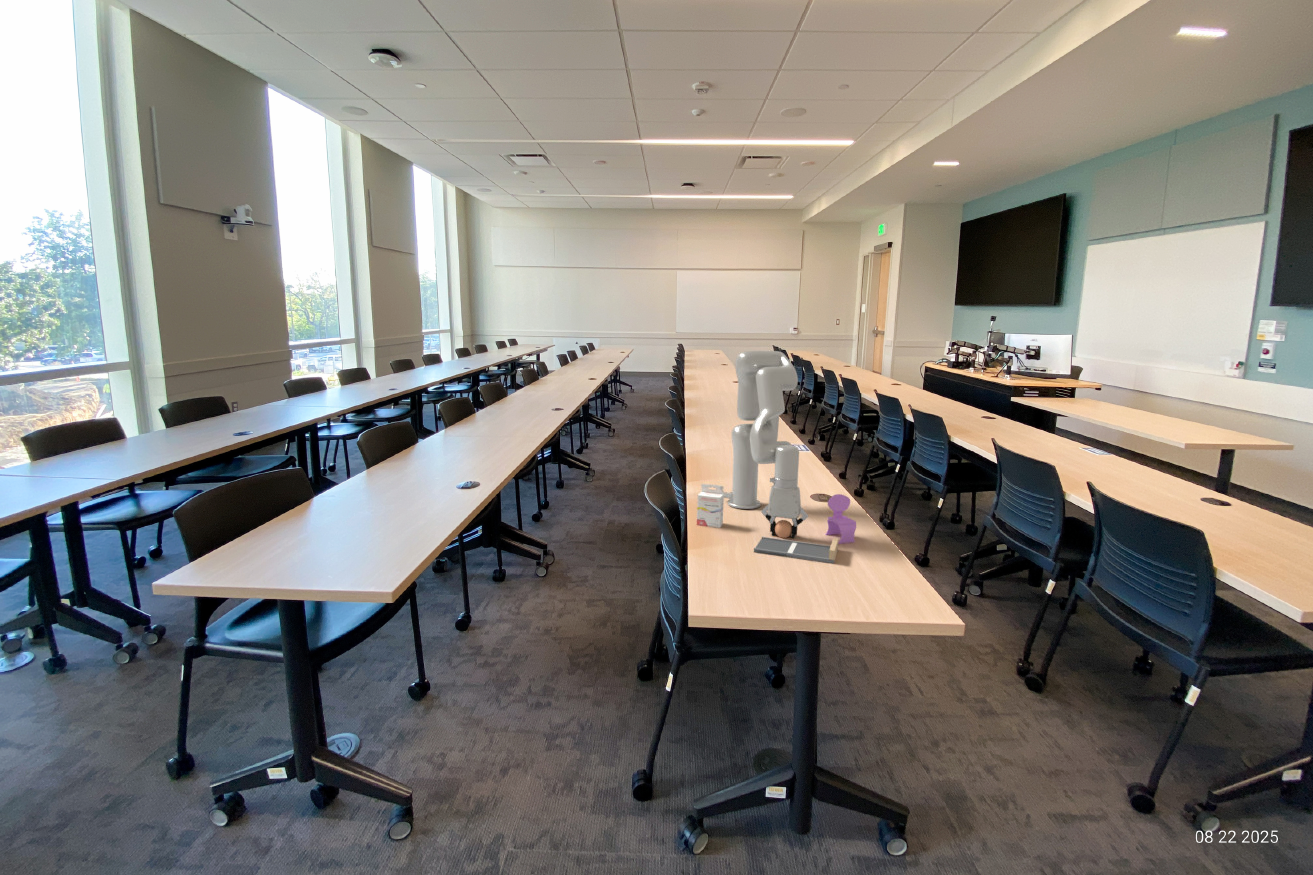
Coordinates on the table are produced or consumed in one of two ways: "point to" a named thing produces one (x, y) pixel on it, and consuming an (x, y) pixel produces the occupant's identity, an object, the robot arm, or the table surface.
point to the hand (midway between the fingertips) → (783, 534)
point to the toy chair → (840, 519)
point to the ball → (783, 528)
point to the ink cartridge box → (710, 506)
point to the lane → (798, 549)
